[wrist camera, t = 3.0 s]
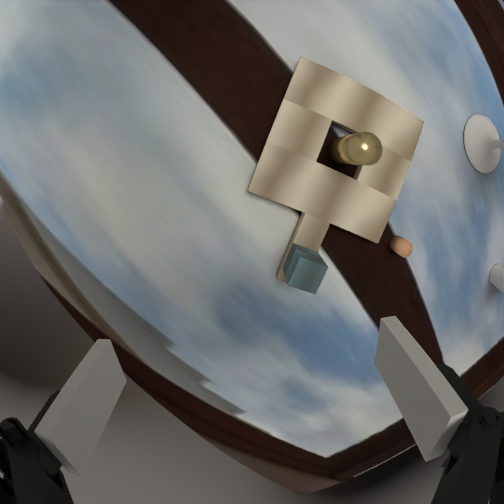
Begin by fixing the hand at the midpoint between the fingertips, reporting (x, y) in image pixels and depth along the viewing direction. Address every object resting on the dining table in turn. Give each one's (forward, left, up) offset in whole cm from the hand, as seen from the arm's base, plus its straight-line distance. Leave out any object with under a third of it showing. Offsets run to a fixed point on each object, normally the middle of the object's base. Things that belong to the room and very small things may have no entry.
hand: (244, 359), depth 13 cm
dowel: (+18, +6, -21) cm, 28 cm away
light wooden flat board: (+6, +9, -21) cm, 24 cm away
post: (+6, +13, -21) cm, 26 cm away
